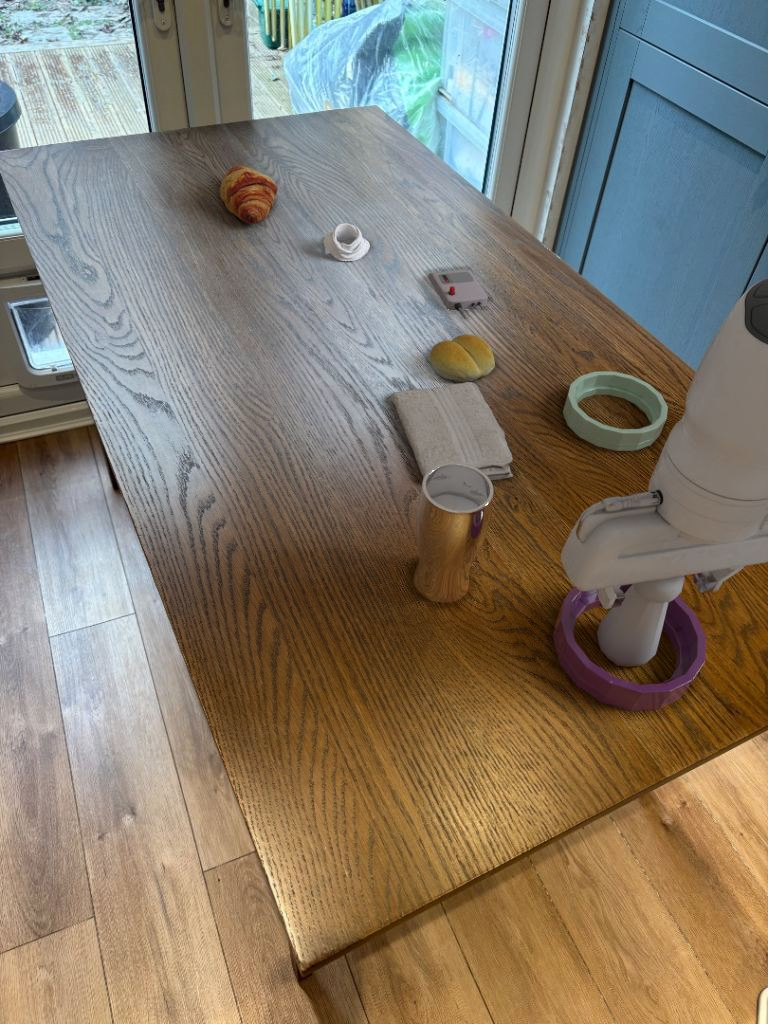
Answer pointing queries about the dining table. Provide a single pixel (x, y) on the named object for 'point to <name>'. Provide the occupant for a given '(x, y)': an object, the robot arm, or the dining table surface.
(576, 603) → the purple bangle bracelet
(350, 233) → the white ruffled cup
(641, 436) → the green faceted bangle
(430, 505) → the shiny metal tumbler
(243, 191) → the croissant
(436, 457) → the washcloth
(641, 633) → the grey pawn peg
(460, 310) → the grey electronic control box
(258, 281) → the dining table surface
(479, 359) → the bread roll
